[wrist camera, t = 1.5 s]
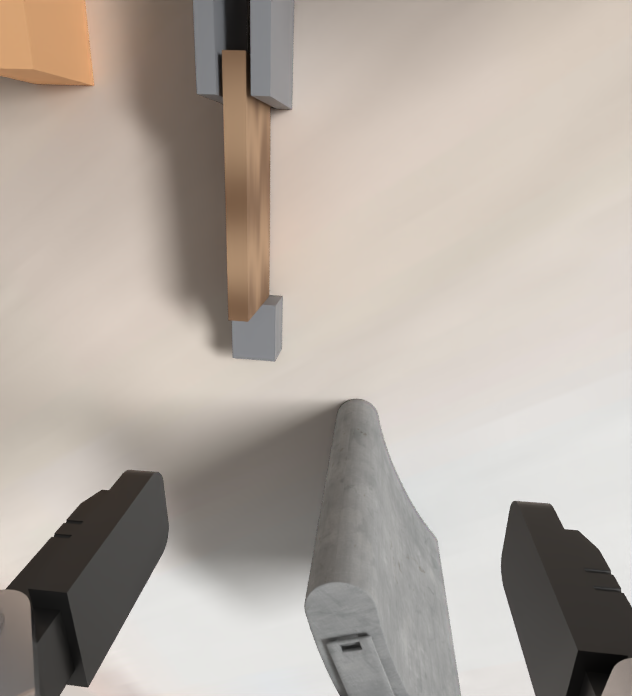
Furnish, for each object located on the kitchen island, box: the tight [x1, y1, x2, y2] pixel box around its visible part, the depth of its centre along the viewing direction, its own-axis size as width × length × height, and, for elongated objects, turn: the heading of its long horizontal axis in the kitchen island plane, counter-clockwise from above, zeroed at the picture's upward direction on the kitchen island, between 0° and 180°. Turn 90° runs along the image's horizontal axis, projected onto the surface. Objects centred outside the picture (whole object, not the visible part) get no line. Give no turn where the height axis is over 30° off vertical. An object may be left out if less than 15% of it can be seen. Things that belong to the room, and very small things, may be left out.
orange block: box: [0, 0, 94, 86], centre depth 28 cm, size 6×4×6 cm, turn 178°
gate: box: [222, 50, 270, 322], centre depth 30 cm, size 14×1×6 cm, turn 178°
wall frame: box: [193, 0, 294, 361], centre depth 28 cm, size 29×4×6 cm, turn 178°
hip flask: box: [304, 399, 461, 696], centre depth 30 cm, size 16×4×20 cm, turn 25°
